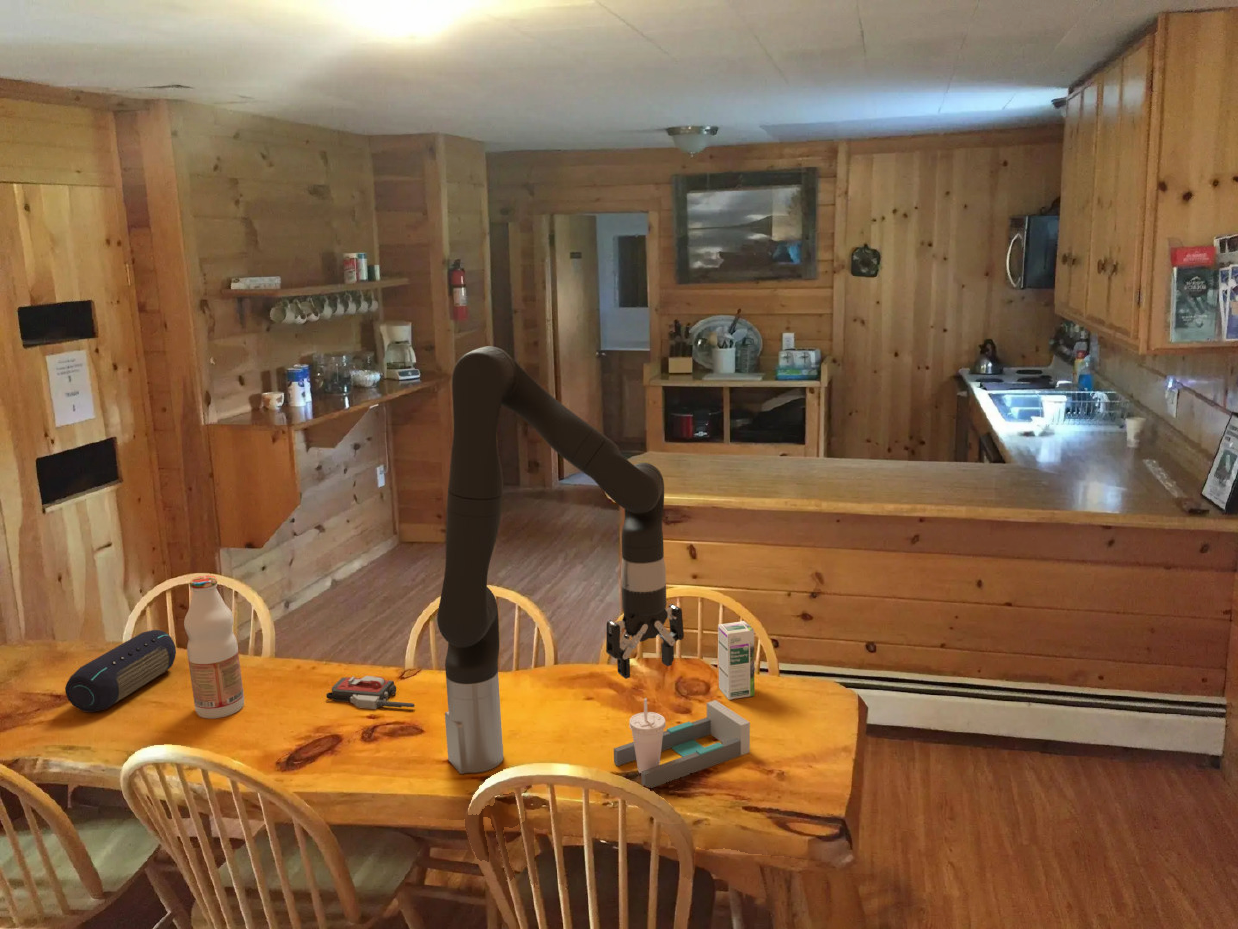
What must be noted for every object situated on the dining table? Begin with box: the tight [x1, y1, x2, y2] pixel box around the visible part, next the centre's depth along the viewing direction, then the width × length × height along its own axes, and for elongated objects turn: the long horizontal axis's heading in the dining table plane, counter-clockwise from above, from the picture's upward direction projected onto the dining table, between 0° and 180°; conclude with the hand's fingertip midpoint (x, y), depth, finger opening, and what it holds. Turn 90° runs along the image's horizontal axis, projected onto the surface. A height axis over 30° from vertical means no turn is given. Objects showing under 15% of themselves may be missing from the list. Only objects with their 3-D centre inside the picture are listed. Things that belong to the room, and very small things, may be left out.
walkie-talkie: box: [325, 675, 415, 710], centre depth 207 cm, size 9×4×20 cm
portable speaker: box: [64, 629, 177, 713], centre depth 213 cm, size 25×10×10 cm, turn 165°
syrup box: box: [717, 620, 755, 701], centre depth 204 cm, size 6×6×14 cm
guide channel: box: [613, 699, 751, 789], centre depth 180 cm, size 22×11×6 cm, turn 121°
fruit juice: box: [183, 574, 245, 719], centre depth 201 cm, size 9×9×28 cm
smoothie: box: [628, 697, 667, 774], centre depth 176 cm, size 6×6×14 cm
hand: (646, 670), depth 173 cm, fingers open, 8 cm apart
